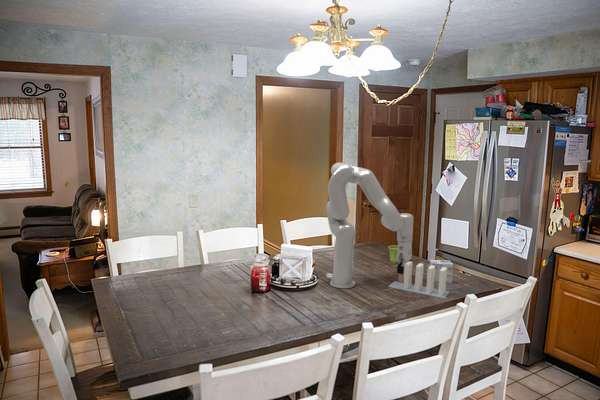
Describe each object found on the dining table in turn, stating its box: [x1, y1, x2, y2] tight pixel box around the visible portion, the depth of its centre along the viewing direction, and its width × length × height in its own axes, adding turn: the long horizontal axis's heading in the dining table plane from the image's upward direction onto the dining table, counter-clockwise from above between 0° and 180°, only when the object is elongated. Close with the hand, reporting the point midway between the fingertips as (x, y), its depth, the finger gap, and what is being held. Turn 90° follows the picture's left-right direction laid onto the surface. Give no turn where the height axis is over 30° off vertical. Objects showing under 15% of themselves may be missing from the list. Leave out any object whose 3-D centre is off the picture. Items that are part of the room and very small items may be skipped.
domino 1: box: [397, 261, 407, 283], centre depth 228 cm, size 2×6×12 cm, turn 149°
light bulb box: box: [429, 259, 454, 283], centre depth 230 cm, size 11×7×11 cm, turn 84°
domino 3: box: [414, 262, 425, 291], centre depth 215 cm, size 2×6×12 cm, turn 149°
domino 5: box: [438, 267, 447, 296], centre depth 210 cm, size 2×6×12 cm, turn 149°
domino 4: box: [425, 265, 435, 294], centre depth 212 cm, size 2×6×12 cm, turn 149°
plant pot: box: [388, 244, 398, 264], centre depth 264 cm, size 9×9×9 cm
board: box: [388, 280, 450, 299], centre depth 216 cm, size 27×10×1 cm, turn 59°
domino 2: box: [403, 261, 413, 289], centre depth 218 cm, size 2×6×12 cm, turn 149°
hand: (403, 270), depth 229 cm, fingers open, 9 cm apart
